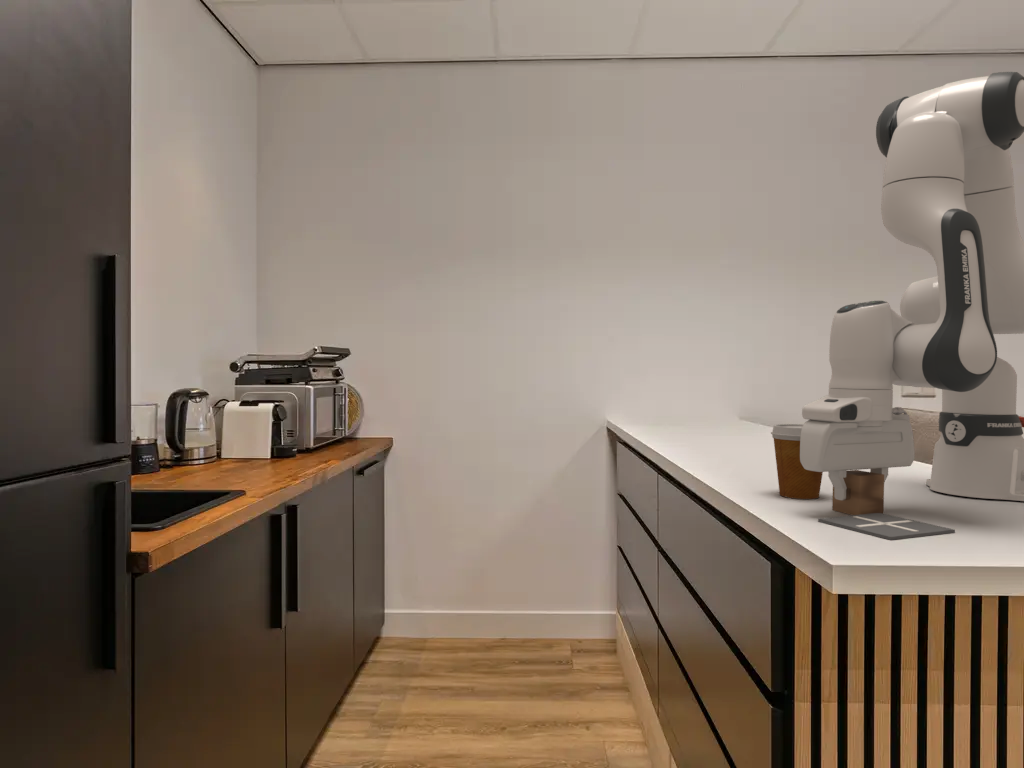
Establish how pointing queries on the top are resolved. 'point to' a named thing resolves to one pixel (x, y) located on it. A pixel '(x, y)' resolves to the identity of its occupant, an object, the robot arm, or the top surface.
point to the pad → (886, 526)
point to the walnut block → (862, 493)
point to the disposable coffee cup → (793, 464)
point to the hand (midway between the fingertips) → (858, 498)
